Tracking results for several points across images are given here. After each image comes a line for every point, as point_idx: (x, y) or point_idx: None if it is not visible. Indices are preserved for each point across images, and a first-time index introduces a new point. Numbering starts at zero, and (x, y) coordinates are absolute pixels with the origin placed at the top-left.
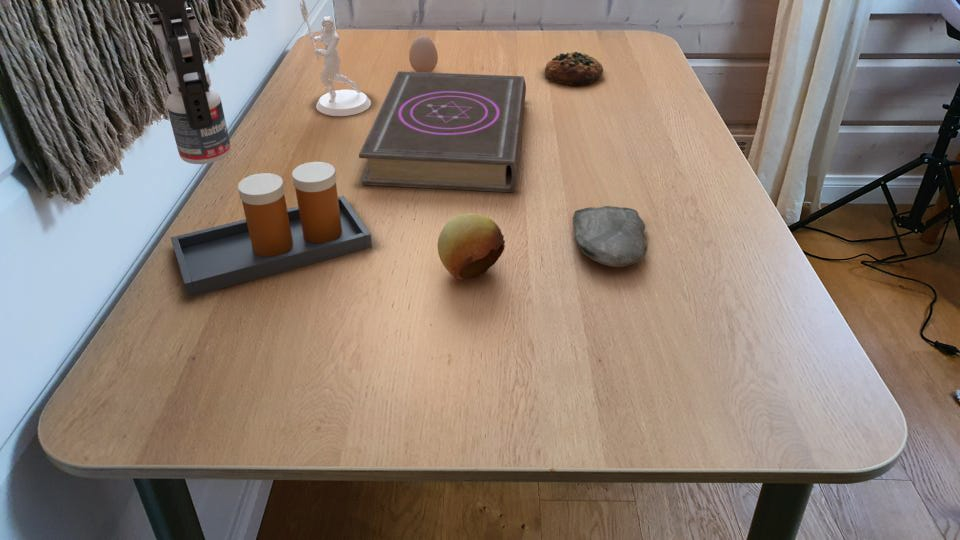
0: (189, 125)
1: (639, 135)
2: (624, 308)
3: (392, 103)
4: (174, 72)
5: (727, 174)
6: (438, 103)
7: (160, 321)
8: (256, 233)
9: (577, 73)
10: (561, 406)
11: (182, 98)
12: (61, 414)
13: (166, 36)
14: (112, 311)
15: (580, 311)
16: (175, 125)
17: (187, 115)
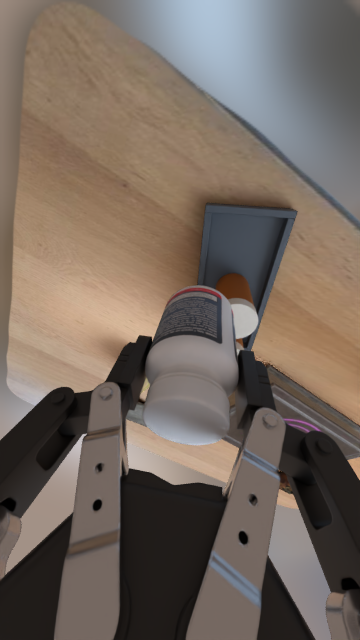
0: (139, 337)
1: (211, 457)
2: (93, 387)
3: (329, 428)
4: (104, 428)
5: (163, 453)
6: None
7: (185, 167)
8: (223, 286)
9: (280, 481)
10: (41, 340)
11: (123, 375)
12: (86, 23)
13: (44, 569)
14: (228, 114)
15: (96, 376)
16: (176, 319)
17: (131, 351)
